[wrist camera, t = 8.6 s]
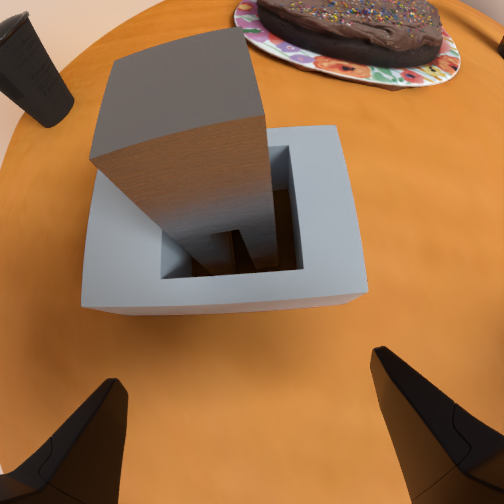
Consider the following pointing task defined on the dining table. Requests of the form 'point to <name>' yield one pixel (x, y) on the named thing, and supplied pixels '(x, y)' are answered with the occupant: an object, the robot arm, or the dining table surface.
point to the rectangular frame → (240, 285)
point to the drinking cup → (31, 73)
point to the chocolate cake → (355, 39)
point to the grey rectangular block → (192, 146)
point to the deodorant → (501, 47)
